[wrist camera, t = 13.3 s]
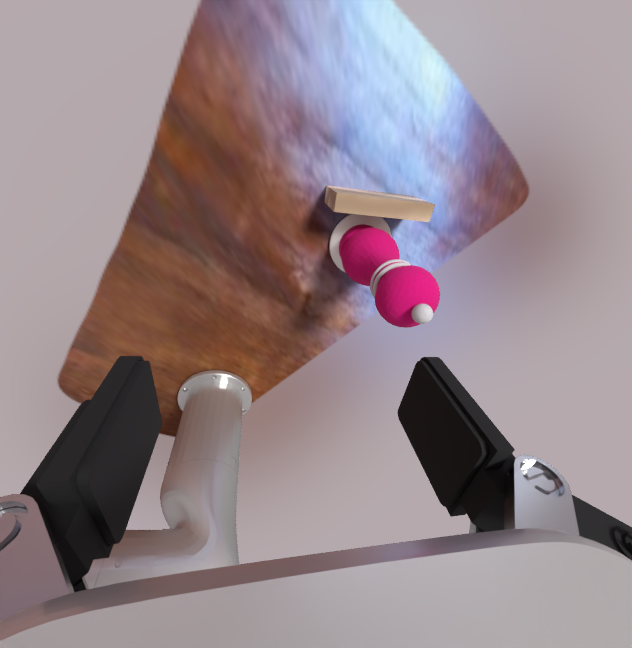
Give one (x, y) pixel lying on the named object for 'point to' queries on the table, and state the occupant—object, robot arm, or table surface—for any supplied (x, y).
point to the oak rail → (377, 204)
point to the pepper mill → (389, 276)
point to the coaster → (346, 225)
